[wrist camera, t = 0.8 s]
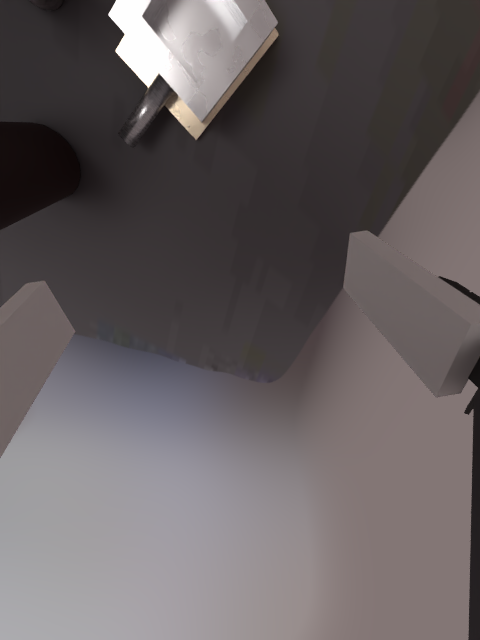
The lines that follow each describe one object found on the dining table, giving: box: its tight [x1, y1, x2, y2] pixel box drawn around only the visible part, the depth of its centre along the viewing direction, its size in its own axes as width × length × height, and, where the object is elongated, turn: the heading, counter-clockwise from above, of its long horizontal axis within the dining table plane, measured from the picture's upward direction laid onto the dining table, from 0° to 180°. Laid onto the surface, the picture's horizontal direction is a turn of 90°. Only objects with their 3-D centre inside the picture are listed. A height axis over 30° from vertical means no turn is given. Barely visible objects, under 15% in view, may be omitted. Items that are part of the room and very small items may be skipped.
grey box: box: [109, 0, 279, 148], centre depth 22 cm, size 9×16×8 cm, turn 134°
